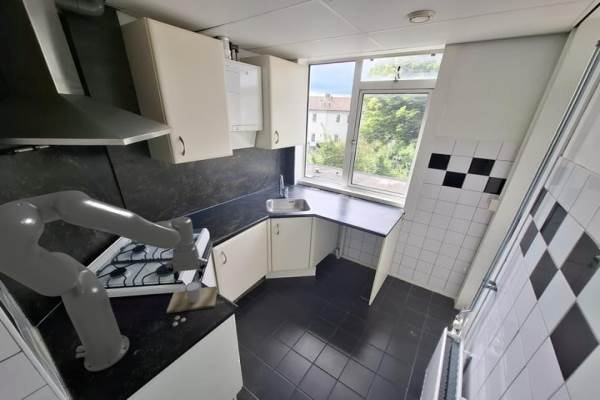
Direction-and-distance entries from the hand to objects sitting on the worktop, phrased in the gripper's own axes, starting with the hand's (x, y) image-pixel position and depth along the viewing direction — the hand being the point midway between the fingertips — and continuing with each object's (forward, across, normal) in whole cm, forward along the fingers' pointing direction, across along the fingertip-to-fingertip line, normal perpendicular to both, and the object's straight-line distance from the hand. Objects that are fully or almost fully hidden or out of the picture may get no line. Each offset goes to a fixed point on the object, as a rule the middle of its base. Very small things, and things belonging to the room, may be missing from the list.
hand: (189, 277), depth 100 cm
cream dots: (+14, -3, -10) cm, 17 cm away
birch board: (+13, +1, +1) cm, 13 cm away
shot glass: (+12, +1, 0) cm, 12 cm away
